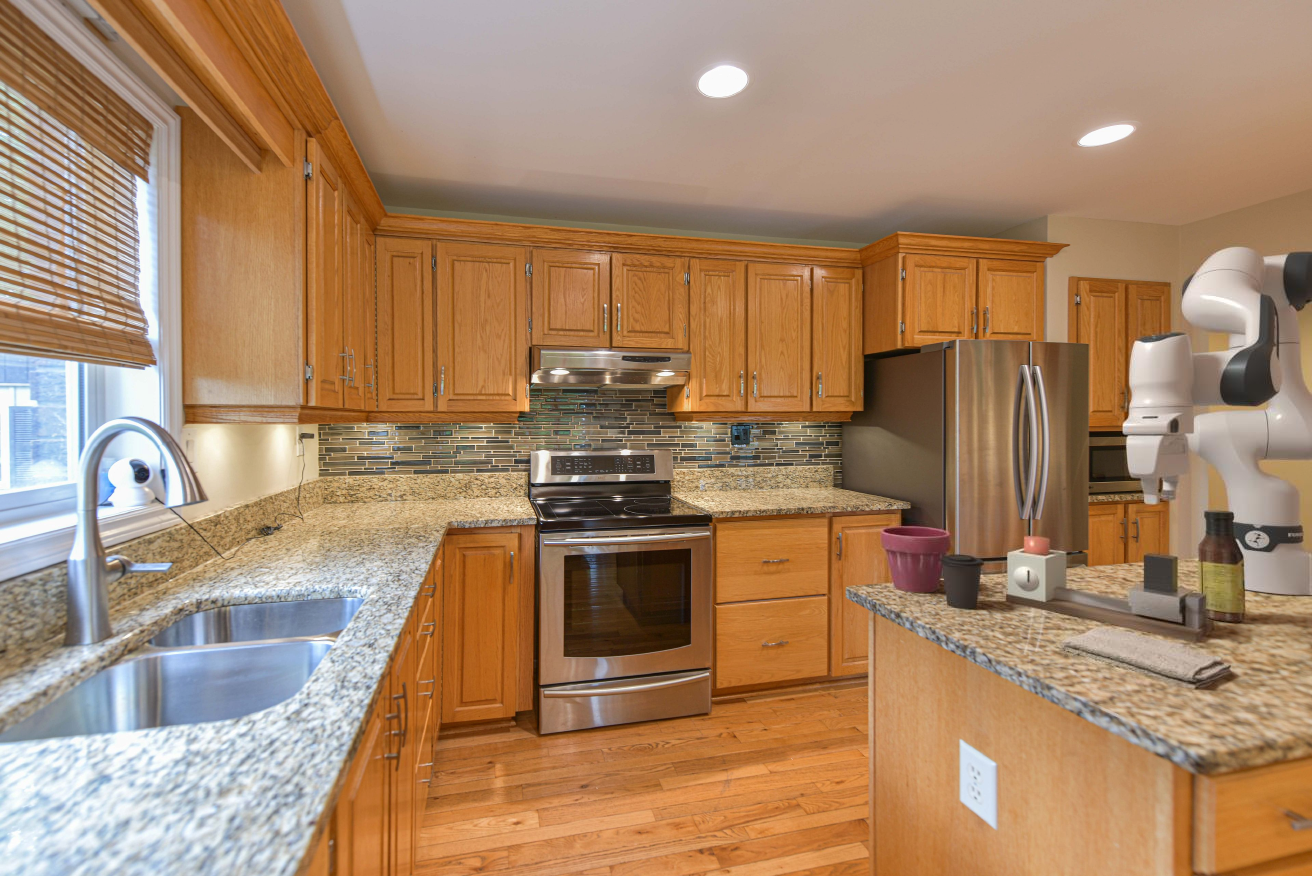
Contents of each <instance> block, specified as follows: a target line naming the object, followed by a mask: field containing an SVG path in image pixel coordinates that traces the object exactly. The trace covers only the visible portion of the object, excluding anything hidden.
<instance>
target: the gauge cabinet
mask: <svg viewBox="0 0 1312 876" xmlns="http://www.w3.org/2000/svg"><path fill="white" fill-rule="evenodd" d="M1006 558H1007V560H1006V561H1007V565H1006V568H1007V576H1006V577H1007V581H1006V582H1007V583H1006V584H1007V587H1006V588H1007V589H1006V590H1007V591H1006V592H1007V593H1006V594H1010V595H1015V596H1020V597H1024V598H1029V599H1034V600H1039V601H1044V602H1046V601H1049V600H1051V599H1053V598H1054V588H1056V587H1062V588H1067V551H1063V550H1056V549H1055V550H1053V549H1050V555H1048V556H1041V555H1034V554H1027V553H1024V547H1023V548H1020V549H1017V550H1012V551H1009V552H1007V557H1006Z"/></svg>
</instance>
